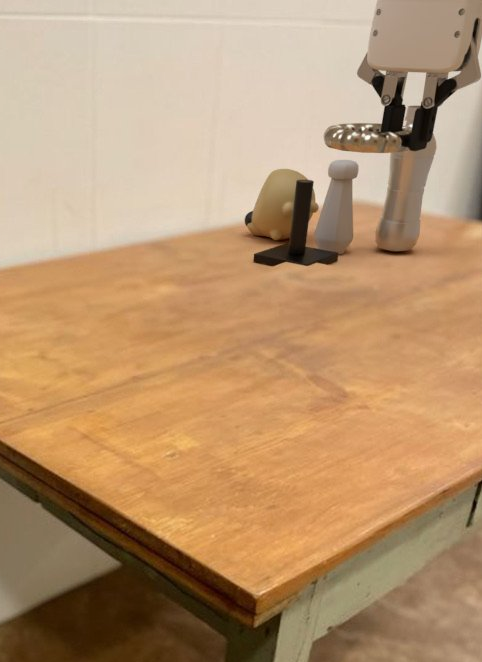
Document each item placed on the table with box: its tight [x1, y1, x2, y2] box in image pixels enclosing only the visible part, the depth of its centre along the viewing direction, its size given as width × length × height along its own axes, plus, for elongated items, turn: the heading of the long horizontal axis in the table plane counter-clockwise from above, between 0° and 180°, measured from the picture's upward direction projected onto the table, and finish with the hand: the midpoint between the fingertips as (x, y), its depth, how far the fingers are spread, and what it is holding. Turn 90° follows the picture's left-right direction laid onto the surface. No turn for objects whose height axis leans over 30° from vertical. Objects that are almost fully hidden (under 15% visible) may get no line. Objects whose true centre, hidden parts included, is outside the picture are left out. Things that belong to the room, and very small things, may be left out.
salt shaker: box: [313, 159, 359, 255], centre depth 122 cm, size 6×6×13 cm
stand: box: [252, 179, 340, 267], centre depth 118 cm, size 9×9×11 cm
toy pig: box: [244, 168, 320, 241], centre depth 131 cm, size 10×12×11 cm
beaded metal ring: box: [322, 122, 412, 154], centre depth 88 cm, size 10×10×2 cm
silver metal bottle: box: [375, 105, 438, 253], centre depth 121 cm, size 6×7×20 cm
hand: (403, 146), depth 86 cm, fingers closed on beaded metal ring, 2 cm apart
